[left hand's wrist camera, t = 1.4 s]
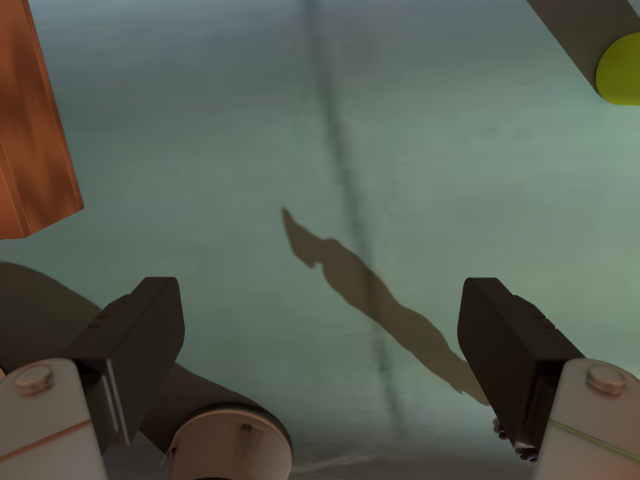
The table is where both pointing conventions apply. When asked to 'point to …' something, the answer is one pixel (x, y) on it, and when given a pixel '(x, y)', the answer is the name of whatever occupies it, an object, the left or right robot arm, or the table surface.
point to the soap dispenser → (620, 71)
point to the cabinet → (30, 134)
